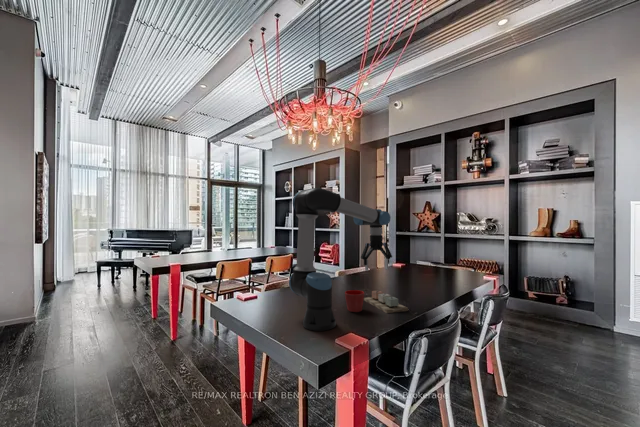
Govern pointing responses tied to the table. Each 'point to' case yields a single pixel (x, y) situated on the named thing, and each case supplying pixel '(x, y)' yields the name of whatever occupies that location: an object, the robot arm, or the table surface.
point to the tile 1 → (382, 297)
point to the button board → (385, 307)
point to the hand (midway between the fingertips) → (376, 270)
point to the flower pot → (354, 300)
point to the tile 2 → (391, 301)
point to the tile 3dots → (376, 294)
